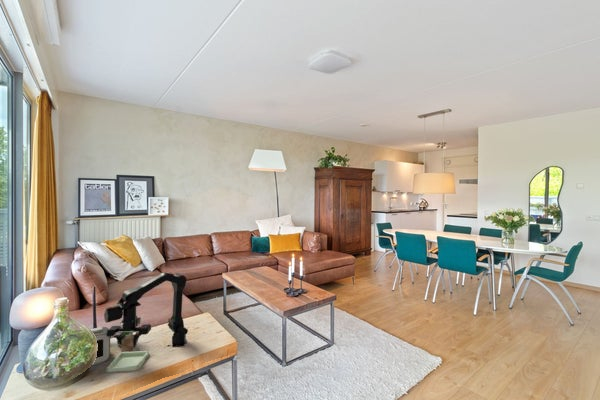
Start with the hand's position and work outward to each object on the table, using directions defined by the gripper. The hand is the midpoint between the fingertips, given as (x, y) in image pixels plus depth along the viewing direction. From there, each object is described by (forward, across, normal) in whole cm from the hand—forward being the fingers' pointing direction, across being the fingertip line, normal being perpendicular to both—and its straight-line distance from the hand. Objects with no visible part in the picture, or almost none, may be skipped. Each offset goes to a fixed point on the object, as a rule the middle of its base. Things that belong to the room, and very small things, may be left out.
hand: (129, 346), depth 142 cm
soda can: (+8, +10, -19) cm, 23 cm away
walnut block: (+1, 0, 0) cm, 1 cm away
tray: (+8, 0, 0) cm, 8 cm away
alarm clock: (+8, +20, -4) cm, 22 cm away
